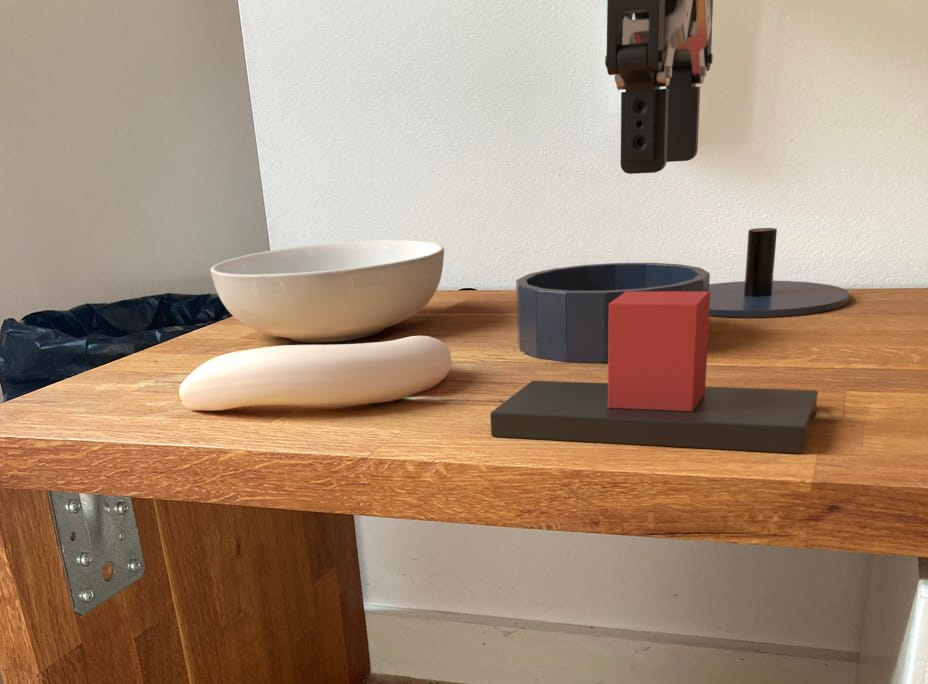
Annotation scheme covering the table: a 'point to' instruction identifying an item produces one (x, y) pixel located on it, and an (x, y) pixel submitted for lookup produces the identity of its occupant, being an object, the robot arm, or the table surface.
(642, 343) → the red chamfered block
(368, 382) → the banana
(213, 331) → the table surface
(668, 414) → the board
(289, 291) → the serving bowl
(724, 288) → the pot lid
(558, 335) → the pot
